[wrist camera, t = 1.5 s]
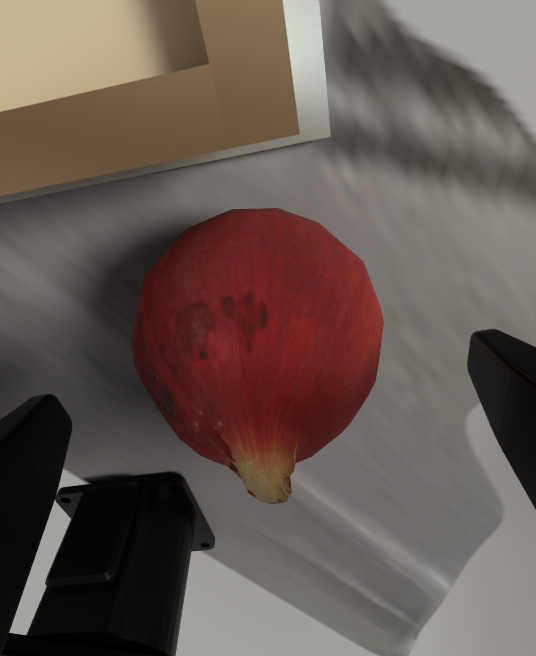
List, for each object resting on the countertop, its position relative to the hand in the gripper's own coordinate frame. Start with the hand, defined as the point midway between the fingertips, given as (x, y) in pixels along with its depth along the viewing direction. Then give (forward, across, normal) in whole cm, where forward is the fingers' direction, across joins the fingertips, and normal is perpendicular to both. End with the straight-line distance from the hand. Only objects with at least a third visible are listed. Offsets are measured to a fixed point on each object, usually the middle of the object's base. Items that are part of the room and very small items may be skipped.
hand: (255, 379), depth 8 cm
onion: (+6, 0, 0) cm, 6 cm away
